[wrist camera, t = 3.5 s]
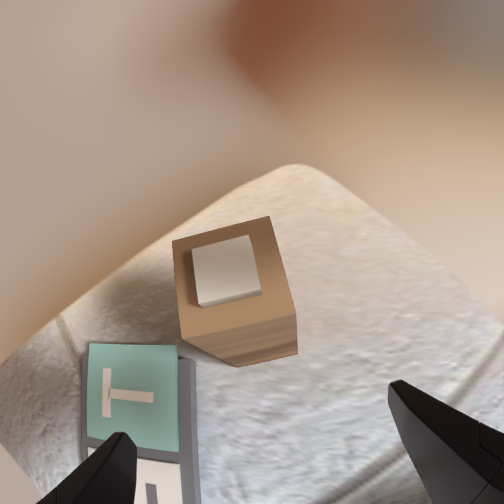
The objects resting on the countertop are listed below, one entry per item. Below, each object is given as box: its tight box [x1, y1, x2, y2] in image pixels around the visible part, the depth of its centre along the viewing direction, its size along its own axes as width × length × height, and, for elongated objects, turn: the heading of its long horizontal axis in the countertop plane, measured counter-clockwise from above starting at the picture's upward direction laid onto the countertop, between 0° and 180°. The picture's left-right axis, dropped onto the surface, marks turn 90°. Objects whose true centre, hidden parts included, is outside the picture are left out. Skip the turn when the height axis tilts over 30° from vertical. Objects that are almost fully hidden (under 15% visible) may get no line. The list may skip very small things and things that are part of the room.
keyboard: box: [81, 343, 201, 504], centre depth 16 cm, size 26×10×2 cm, turn 2°
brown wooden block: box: [172, 216, 298, 367], centre depth 17 cm, size 4×4×12 cm
